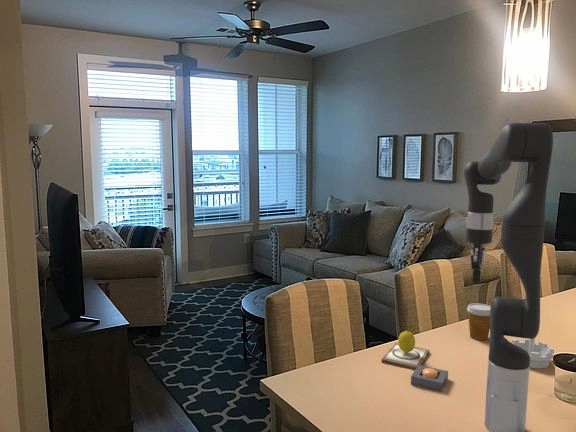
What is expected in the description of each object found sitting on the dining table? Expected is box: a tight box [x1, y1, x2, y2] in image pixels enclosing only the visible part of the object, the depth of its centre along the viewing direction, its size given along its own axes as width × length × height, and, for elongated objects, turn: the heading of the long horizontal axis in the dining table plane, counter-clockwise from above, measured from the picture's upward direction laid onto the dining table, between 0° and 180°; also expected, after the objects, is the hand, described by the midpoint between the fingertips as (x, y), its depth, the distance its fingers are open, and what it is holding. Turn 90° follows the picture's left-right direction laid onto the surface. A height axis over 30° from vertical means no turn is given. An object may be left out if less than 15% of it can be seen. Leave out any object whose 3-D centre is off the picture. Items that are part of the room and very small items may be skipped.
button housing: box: [410, 365, 449, 392], centre depth 142 cm, size 9×9×2 cm
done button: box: [422, 368, 438, 379], centre depth 142 cm, size 4×4×2 cm
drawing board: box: [381, 343, 431, 371], centre depth 160 cm, size 16×12×1 cm
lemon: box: [397, 330, 416, 353], centre depth 159 cm, size 6×6×8 cm
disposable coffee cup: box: [466, 302, 491, 341], centre depth 177 cm, size 10×10×12 cm
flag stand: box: [511, 274, 555, 369], centre depth 155 cm, size 13×13×30 cm
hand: (476, 282), depth 146 cm, fingers closed
